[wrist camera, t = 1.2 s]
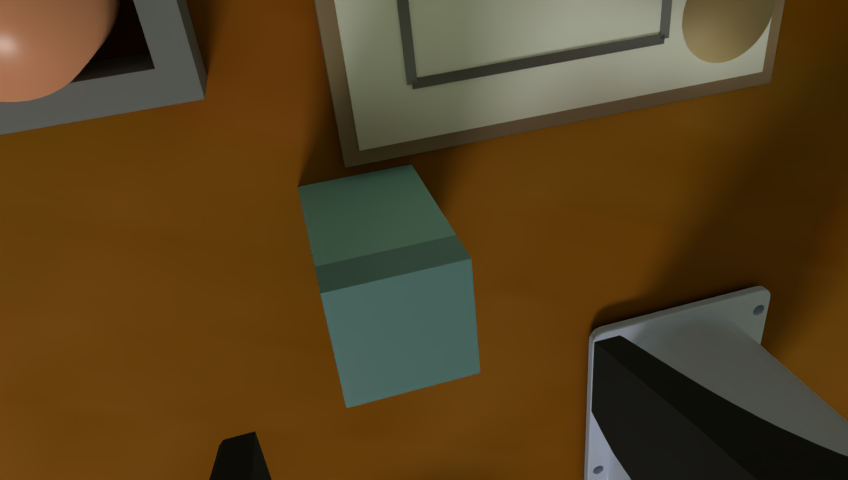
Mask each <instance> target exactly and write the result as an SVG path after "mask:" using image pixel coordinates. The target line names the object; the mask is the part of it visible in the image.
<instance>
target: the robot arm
mask: <svg viewBox="0 0 848 480" xmlns="http://www.w3.org/2000/svg"><path fill="white" fill-rule="evenodd" d="M769 301H770V292H769V291H768V290H767V289H766V288H764V287H762V286H755V287H751V288H747V289H743V290H740V291H736V292H732V293H728V294H724V295H720V296H716V297H713V298H709V299H705V300H701V301H697V302H693V303H689V304H686V305H682V306H678V307H674V308H670V309H666V310H662V311H659V312H655V313H651V314H647V315H643V316H639V317H635V318H631V319H628V320H624V321H620V322H616V323H612V324H608V325H604V326H601V327H598V328H596V329H595V330H594V331H593V332H592V333H591V335H590V338H589V357H588V386H587V414H586V442H585V470H584V480H848V421H846V420H845V419H844V418H843V417H842V416H841V415H840V414H838V413H837V412H836V411H835V410H834V409H833V408H832V407H830V406H829V405H828V404H827V403H826V402H825V401H824V400H822V399H821V398H820V397H819V396H818V395H817V394H816V393H814V392H813V391H812V390H811V389H810V388H809V387H808V386H806V385H805V384H804V383H803V382H802V381H801V380H800V379H799V378H797V377H796V376H795V375H794V374H793V373H792V372H791V371H789V370H788V369H787V368H786V367H785V366H784V365H783V364H781V363H780V362H779V361H778V360H777V359H776V358H775V357H773V356H772V355H771V354H770V353H769V352H768V351H767V350H765V349H764V348H763V347H762V346H761V345H760V344H761V339H762V334H763V330H764V325H765V320H766V315H767V311H768V306H769ZM209 480H271V477H270V474H269V471H268V468H267V465H266V462H265V459H264V456H263V453H262V450H261V447H260V444H259V441H258V438H257V435H256V433H255V432H252V433H248V434H244V435H240V436H236V437H233V438H229V439H225V440H223V441H222V443H221V444H220V445H219V448H218V452H217V456H216V460H215V463H214V466H213V470H212V473H211V476H210V479H209Z"/></svg>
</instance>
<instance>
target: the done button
mask: <svg viewBox="0 0 848 480" xmlns="http://www.w3.org/2000/svg"><path fill="white" fill-rule="evenodd" d="M119 6H120V0H0V102H21V101H29V100H33V99H38V98H42V97H44V96H47V95H49V94H52V93H54V92H56V91H58V90H59V89H61V88H63V87H64V86H66V85H67V84H68V83H70V82H71V81H72V80H73V79H74V78H75V77H76V76H77V75H78V74H79V73H80V72H81V70H82V69H83V68H84V67H85V65H86V64H87V63H88V62H89V60H90V59H91V58H92V57H93V56H94V54H95V53H96V52H97V51H98V49H99V48H100V47H101V46H102V44H103V43H104V42H105V41H106V39H107V38H108V36H109V35H110V34H111V32H112V30H113V28H114V26H115V23H116V20H117V17H118V12H119Z"/></svg>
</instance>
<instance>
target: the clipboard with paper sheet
mask: <svg viewBox="0 0 848 480" xmlns="http://www.w3.org/2000/svg"><path fill="white" fill-rule="evenodd" d="M784 3H785V0H314V5H315V11H316V16H317V22H318V27H319V32H320V38H321V43H322V49H323V54H324V60H325V65H326V71H327V76H328V82H329V87H330V93H331V98H332V104H333V109H334V115H335V120H336V126H337V131H338V136H339V142H340V147H341V153H342V158H343V163H344V166H345V168H348V167H353V166H358V165H363V164H368V163H373V162H378V161H383V160H388V159H393V158H398V157H403V156H408V155H413V154H418V153H423V152H428V151H433V150H438V149H443V148H448V147H453V146H458V145H463V144H468V143H473V142H478V141H483V140H488V139H493V138H498V137H503V136H508V135H513V134H518V133H523V132H528V131H533V130H538V129H543V128H548V127H553V126H558V125H563V124H568V123H573V122H578V121H583V120H588V119H593V118H598V117H603V116H608V115H613V114H618V113H623V112H628V111H633V110H638V109H643V108H648V107H653V106H658V105H663V104H668V103H673V102H678V101H683V100H688V99H693V98H698V97H703V96H708V95H713V94H718V93H723V92H728V91H733V90H738V89H743V88H748V87H753V86H758V85H763V84H768V83H771V77H772V71H773V66H774V60H775V54H776V49H777V43H778V37H779V31H780V26H781V20H782V14H783V9H784Z"/></svg>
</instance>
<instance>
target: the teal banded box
mask: <svg viewBox="0 0 848 480" xmlns="http://www.w3.org/2000/svg"><path fill="white" fill-rule="evenodd" d="M298 191H299V196H300V200H301V205H302V210H303V214H304V219H305V224H306V228H307V233H308V238H309V242H310V247H311V252H312V256H313V261H314V266H315V270H316V275H317V280H318V284H319V289H320V294H321V298H322V303H323V307H324V311H325V316H326V320H327V325H328V329H329V333H330V338H331V342H332V346H333V351H334V355H335V360H336V364H337V368H338V373H339V377H340V382H341V386H342V390H343V395H344V399H345V404H346V408H349V407H353V406H357V405H360V404H364V403H368V402H372V401H375V400H379V399H383V398H387V397H391V396H394V395H398V394H402V393H406V392H410V391H413V390H417V389H421V388H425V387H429V386H432V385H436V384H440V383H444V382H447V381H451V380H455V379H459V378H463V377H466V376H470V375H474V374H478V373H480V364H479V351H478V338H477V325H476V313H475V300H474V287H473V274H472V261H471V257H470V256H469V254H468V253H467V251H466V249H465V248H464V246H463V245H462V243H461V242H460V240H459V238H458V237H457V235H456V234H455V232H454V231H453V229H452V227H451V226H450V224H449V223H448V221H447V219H446V218H445V216H444V215H443V213H442V212H441V210H440V208H439V207H438V205H437V204H436V202H435V201H434V199H433V197H432V196H431V194H430V193H429V191H428V189H427V188H426V186H425V185H424V183H423V182H422V180H421V178H420V177H419V175H418V174H417V172H416V171H415V169H414V167H413V166H412V164H409V165H404V166H399V167H394V168H389V169H384V170H379V171H374V172H369V173H364V174H359V175H354V176H349V177H345V178H340V179H335V180H330V181H325V182H320V183H315V184H310V185H305V186H300V187H298Z"/></svg>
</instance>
